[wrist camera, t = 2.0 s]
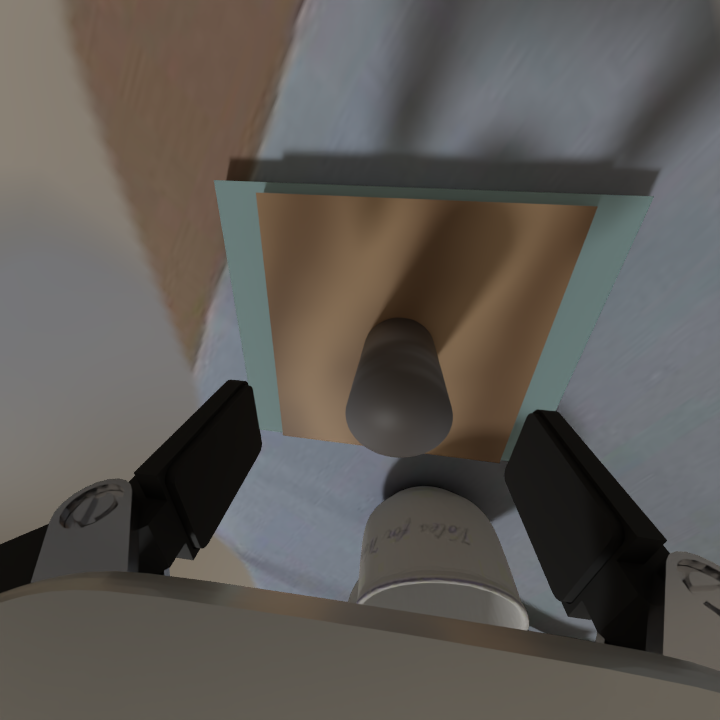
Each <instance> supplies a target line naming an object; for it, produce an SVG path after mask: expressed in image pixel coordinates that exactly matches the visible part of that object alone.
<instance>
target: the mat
mask: <svg viewBox="0 0 720 720" xmlns="http://www.w3.org/2000/svg"><path fill="white" fill-rule="evenodd" d="M214 183H215V189H216V195H217V201H218V207H219V213H220V219H221V225H222V231H223V237H224V243H225V248H226V254H227V260H228V266H229V272H230V278H231V284H232V290H233V296H234V302H235V308H236V313H237V319H238V325H239V331H240V337H241V343H242V349H243V355H244V361H245V367H246V373H247V379H248V384H249V386H252V388H253V392H254V398H255V404H256V410H257V416H258V422H259V429H260V430H268V431H276V432H283V430H282V421H281V412H280V404H279V395H278V386H277V377H276V368H275V359H274V350H273V341H272V332H271V323H270V315H269V306H268V297H267V288H266V279H265V270H264V261H263V252H262V243H261V234H260V226H259V217H258V208H257V199H256V193H279V194H304V195H329V196H353V197H378V198H403V199H427V200H452V201H477V202H501V203H526V204H551V205H575V206H598V208H597V210H596V213H595V215H594V218H593V221H592V223H591V226H590V228H589V231H588V234H587V236H586V239H585V241H584V244H583V247H582V249H581V252H580V254H579V257H578V260H577V262H576V265H575V267H574V270H573V273H572V275H571V278H570V280H569V283H568V286H567V288H566V291H565V293H564V296H563V299H562V301H561V304H560V306H559V309H558V312H557V314H556V317H555V319H554V322H553V325H552V327H551V330H550V332H549V335H548V338H547V340H546V343H545V346H544V348H543V351H542V353H541V356H540V359H539V361H538V364H537V366H536V369H535V372H534V374H533V377H532V379H531V382H530V385H529V387H528V390H527V392H526V395H525V398H524V400H523V403H522V405H521V408H520V411H519V413H518V416H517V418H516V421H515V424H514V426H513V429H512V431H511V434H510V437H509V439H508V442H507V444H506V447H505V450H504V452H503V455H502V457H501V460H503V461H509V459H510V457H511V454H512V452H513V449H514V447H515V444H516V442H517V439H518V437H519V435H520V432H521V430H522V427H523V425H524V422H525V420H526V418H527V416H528V414H530V413H533V412H534V411H535V410H537V409H539V410H549V411H556V409H557V407H558V404H559V402H560V400H561V398H562V396H563V394H564V391H565V389H566V387H567V385H568V383H569V381H570V378H571V376H572V374H573V372H574V370H575V367H576V365H577V363H578V361H579V359H580V357H581V354H582V352H583V350H584V348H585V346H586V344H587V341H588V339H589V337H590V335H591V333H592V331H593V328H594V326H595V324H596V322H597V320H598V317H599V315H600V313H601V311H602V309H603V307H604V304H605V302H606V300H607V298H608V296H609V294H610V291H611V289H612V287H613V285H614V283H615V280H616V278H617V276H618V274H619V272H620V270H621V267H622V265H623V263H624V261H625V259H626V257H627V254H628V252H629V250H630V248H631V246H632V243H633V241H634V239H635V237H636V235H637V233H638V230H639V228H640V226H641V224H642V222H643V220H644V217H645V215H646V213H647V211H648V209H649V206H650V204H651V202H652V200H653V198H654V196H630V195H603V194H575V193H548V192H521V191H493V190H466V189H439V188H411V187H384V186H357V185H329V184H302V183H275V182H248V181H220V180H214Z"/></svg>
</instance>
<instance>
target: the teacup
mask: <svg viewBox="0 0 720 720" xmlns="http://www.w3.org/2000/svg"><path fill="white" fill-rule="evenodd" d="M348 602H350V603H356V604H363V605H369V606H376V607H382V608H388V609H395V610H401V611H408V612H414V613H420V614H427V615H433V616H440V617H446V618H452V619H458V620H465V621H471V622H477V623H483V624H489V625H496V626H502V627H508V628H514V629H521V630H528V628H529V616H528V613H527V611H526V608H525V607H524V605H523V604H522V602H521V600H520V597H519V594H518V591H517V588H516V585H515V582H514V579H513V576H512V574H511V571H510V568H509V565H508V562H507V560H506V557H505V554H504V552H503V549H502V546H501V544H500V541H499V539H498V537H497V534H496V532H495V530H494V528H493V526H492V524H491V523H490V521H489V520H488V518H487V517H486V516H485V514H484V513H483V512H482V511H481V510H480V509H479V508H478V507H477V506H476V505H475V504H473V503H472V502H470V501H469V500H467V499H465V498H463V497H461V496H459V495H457V494H454V493H452V492H450V491H447V490H444V489H441V488H437V487H431V486H418V487H412V488H408V489H405V490H402V491H400V492H398V493H396V494H394V495H393V496H391V497H390V498H388V499H386V500H385V501H383V502H382V503H381V504H380V505H378V506H377V507H376V508H375V510H374V511H373V512H372V514H371V515H370V517H369V519H368V521H367V524H366V527H365V531H364V536H363V542H362V550H361V560H360V572H359V579H358V581H357V582H356V584H355V586H354V588H353V590H352V592H351V594H350V597H349V600H348Z"/></svg>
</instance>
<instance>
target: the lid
mask: <svg viewBox="0 0 720 720" xmlns="http://www.w3.org/2000/svg"><path fill="white" fill-rule="evenodd" d="M256 199H257V208H258V217H259V226H260V234H261V243H262V252H263V261H264V270H265V279H266V288H267V297H268V306H269V315H270V323H271V332H272V341H273V350H274V359H275V368H276V377H277V386H278V395H279V404H280V412H281V421H282V430H283V435H285V436H292V437H300V438H308V439H316V440H323V441H331V442H339V443H347V444H355V445H362V446H365V447H366V448H368V449H370V450H372V451H373V452H376V453H378V454H381V455H385V456H390V457H398V458H403V457H413V456H418V455H421V454H424V453H425V454H432V455H440V456H448V457H456V458H463V459H471V460H479V461H487V462H495V463H500V460H501V457H502V455H503V452H504V450H505V447H506V444H507V442H508V439H509V437H510V434H511V431H512V429H513V426H514V424H515V421H516V418H517V416H518V413H519V411H520V408H521V405H522V403H523V400H524V398H525V395H526V392H527V390H528V387H529V385H530V382H531V379H532V377H533V374H534V372H535V369H536V366H537V364H538V361H539V359H540V356H541V353H542V351H543V348H544V346H545V343H546V340H547V338H548V335H549V332H550V330H551V327H552V325H553V322H554V319H555V317H556V314H557V312H558V309H559V306H560V304H561V301H562V299H563V296H564V293H565V291H566V288H567V286H568V283H569V280H570V278H571V275H572V273H573V270H574V267H575V265H576V262H577V260H578V257H579V254H580V252H581V249H582V247H583V244H584V241H585V239H586V236H587V234H588V231H589V228H590V226H591V223H592V221H593V218H594V215H595V213H596V210H597V208H598V206H575V205H551V204H526V203H501V202H477V201H452V200H427V199H403V198H378V197H353V196H329V195H304V194H279V193H256Z"/></svg>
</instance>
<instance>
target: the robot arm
mask: <svg viewBox="0 0 720 720" xmlns="http://www.w3.org/2000/svg"><path fill="white" fill-rule="evenodd" d="M261 447H262V441H261V435H260V429H259V422H258V416H257V410H256V404H255V398H254V392H253V388H252V386H249V385H248V383H247V382H246V381H239V380H228V381H227V382H226V383H225V384H224V385H223V386H221V387H220V388H219V389H218V390H217V391H216V392H215V393H214V394H213V395H212V396H211V397H210V398H209V399H208V400H207V401H206V402H205V403H204V404H203V405H202V406H201V407H200V408H199V409H198V410H197V411H196V412H195V413H194V414H193V415H192V416H191V417H190V418H189V419H188V420H187V421H186V422H185V423H184V424H183V425H182V426H181V427H180V428H179V429H178V430H177V431H176V432H175V433H174V434H173V435H172V436H171V437H170V438H169V439H168V440H167V441H166V442H165V443H164V444H163V445H162V446H161V447H159V448H158V449H157V451H155V452H154V453H153V454H152V455H151V456H150V457H149V458H148V459H147V460H146V461H145V462H144V463H143V464H142V465H141V466H140V467H139V468H138V469H137V470H136V471H135V472H134V474H135V476H134V477H133V478H132V479H131V480H130V481H129V482H127V481H126V480H123V479H107V480H104V481H100V482H96V483H94V484H92V485H90V486H87V487H85V488H84V489H82V490H80V491H78V492H76V493H75V494H73V495H72V496H71V497H69V498H68V499H67V500H66V501H64V502H63V503H62V504H61V505H60V506H59V508H58V509H57V510H56V511H55V512H54V514H53V516H52V518H51V520H50V522H49V524H48V525H45V526H43V527H40V528H38V529H35V530H33V531H31V532H29V533H26V534H24V535H21V536H19V537H17V538H14V539H12V540H9V541H7V542H5V543H3V544H0V720H720V566H718V565H717V564H715V563H713V562H711V561H709V560H707V559H705V558H702V557H700V556H698V555H695V554H691V553H688V552H678V551H675V552H673V553H671V554H670V553H669V552H668V551H667V549H666V548H665V547H664V546H663V544H664V543H665V542H666V541H667V540H666V539H665V537H664V536H663V535H662V534H661V533H660V531H659V530H658V529H657V528H656V527H655V526H654V524H653V523H652V522H651V521H650V520H649V518H648V517H647V516H646V515H645V514H644V513H643V511H642V510H641V509H640V508H639V507H638V505H637V504H636V503H635V502H634V501H633V500H632V498H631V497H630V496H629V495H628V494H627V492H626V491H625V490H624V489H623V488H622V487H621V485H620V484H619V483H618V482H617V481H616V479H615V478H614V477H613V476H612V475H611V474H610V472H609V471H608V470H607V469H606V468H605V466H604V465H603V464H602V463H601V462H600V461H599V459H598V458H597V457H596V456H595V455H594V453H593V452H592V451H591V450H590V449H589V448H588V446H587V445H586V444H585V443H584V442H583V440H582V439H581V438H580V437H579V436H578V435H577V433H576V432H575V431H574V430H573V429H572V427H571V426H570V425H569V424H568V423H567V422H566V420H565V419H564V418H563V417H562V416H561V414H560V413H558V412H556V411H549V410H539V409H537V410H535V411H534V412H533V413H530V414H528V416H527V418H526V420H525V422H524V425H523V427H522V430H521V432H520V435H519V437H518V439H517V442H516V444H515V447H514V449H513V452H512V454H511V457H510V459H509V461H508V464H507V466H506V469H505V473H504V477H505V481H506V484H507V486H508V489H509V491H510V493H511V496H512V498H513V501H514V503H515V505H516V508H517V510H518V512H519V515H520V517H521V519H522V522H523V524H524V527H525V529H526V531H527V534H528V536H529V538H530V541H531V543H532V545H533V548H534V550H535V553H536V555H537V557H538V560H539V562H540V564H541V567H542V569H543V571H544V574H545V576H546V578H547V581H548V583H549V586H550V588H551V590H552V592H553V594H554V596H555V597H556V599H558V600H559V601H561V602H562V604H563V606H564V609H565V611H566V613H567V616H568V617H575V618H581V619H588V620H591V619H592V621H593V623H594V625H595V627H596V629H597V637H596V642H592V641H586V640H581V639H575V638H570V637H564V636H558V635H552V634H545V633H539V632H533V631H527V630H521V629H514V628H508V627H502V626H496V625H489V624H483V623H477V622H471V621H465V620H458V619H452V618H446V617H440V616H433V615H427V614H420V613H414V612H408V611H401V610H395V609H388V608H382V607H376V606H369V605H363V604H356V603H350V602H343V601H337V600H330V599H324V598H318V597H311V596H304V595H298V594H291V593H284V592H278V591H271V590H264V589H258V588H251V587H244V586H237V585H231V584H224V583H217V582H211V581H202V580H195V579H187V578H179V577H172V576H170V572H169V568H170V566H171V565H172V563H173V562H174V560H175V558H182V559H190V560H194V558H195V557H196V555H197V553H198V551H199V550H200V548H204V547H206V546H207V544H208V543H209V541H210V539H211V538H212V536H213V534H214V532H215V531H216V529H217V527H218V525H219V524H220V522H221V520H222V518H223V517H224V515H225V513H226V511H227V510H228V508H229V506H230V504H231V503H232V501H233V499H234V497H235V495H236V494H237V492H238V490H239V488H240V487H241V485H242V483H243V481H244V480H245V478H246V476H247V474H248V473H249V471H250V469H251V467H252V466H253V464H254V462H255V460H256V459H257V457H258V455H259V453H260V451H261Z"/></svg>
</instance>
